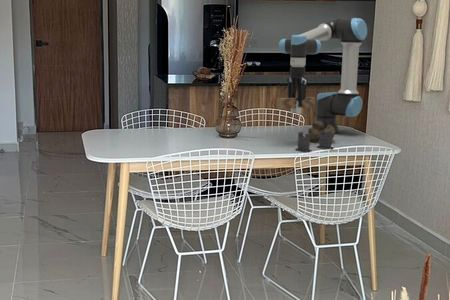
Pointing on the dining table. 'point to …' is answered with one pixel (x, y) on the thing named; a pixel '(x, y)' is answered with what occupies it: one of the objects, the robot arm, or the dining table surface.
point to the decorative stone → (316, 130)
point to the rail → (294, 103)
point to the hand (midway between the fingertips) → (295, 113)
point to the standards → (305, 141)
